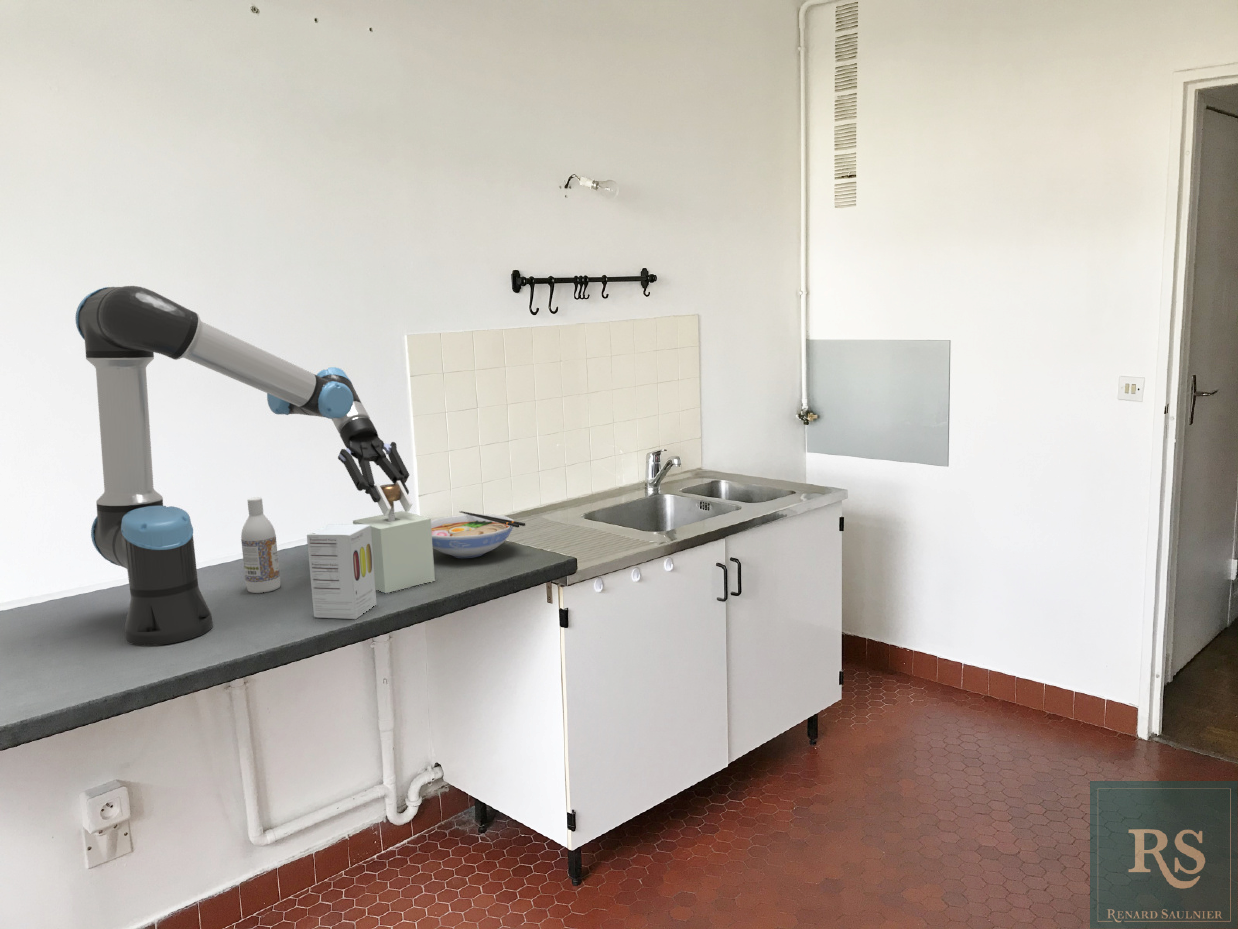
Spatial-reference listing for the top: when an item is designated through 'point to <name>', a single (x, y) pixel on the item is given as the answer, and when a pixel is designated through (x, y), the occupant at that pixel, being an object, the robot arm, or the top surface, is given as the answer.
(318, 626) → the top surface
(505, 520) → the ramen bowl
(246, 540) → the bath foam
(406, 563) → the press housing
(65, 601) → the top surface
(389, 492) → the plunger
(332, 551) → the supplement box
